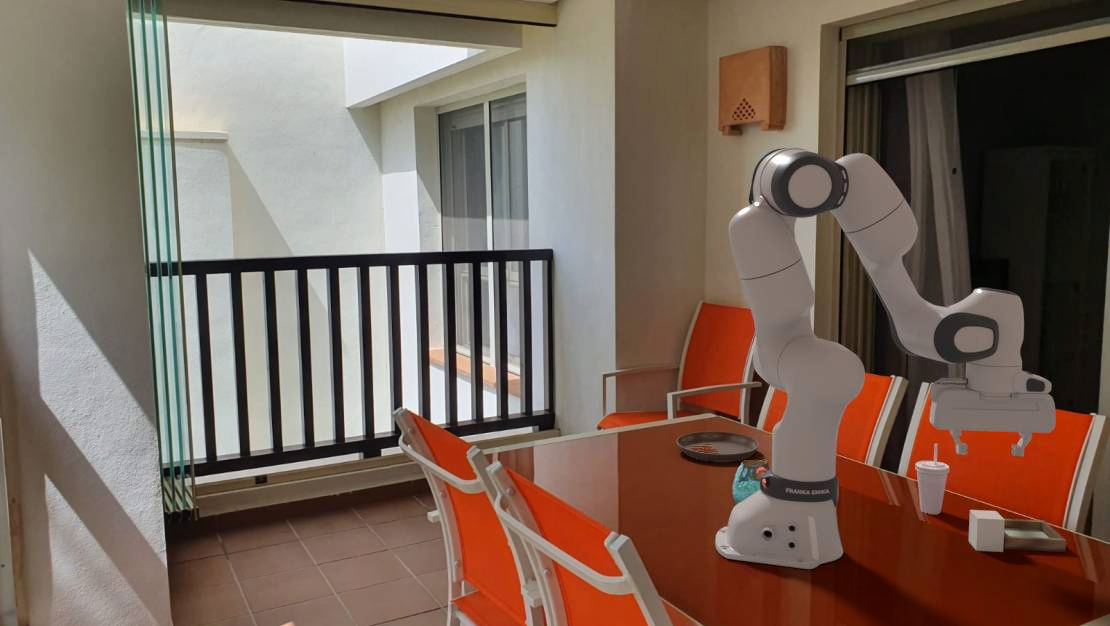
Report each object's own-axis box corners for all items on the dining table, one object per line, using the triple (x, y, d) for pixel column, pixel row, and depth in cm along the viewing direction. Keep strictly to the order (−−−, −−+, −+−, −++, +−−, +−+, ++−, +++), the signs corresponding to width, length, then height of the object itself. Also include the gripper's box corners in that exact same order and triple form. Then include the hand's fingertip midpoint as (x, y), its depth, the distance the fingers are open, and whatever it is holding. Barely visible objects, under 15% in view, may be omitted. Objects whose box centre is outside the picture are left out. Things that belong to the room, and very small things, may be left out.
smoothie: (951, 517, 170) (954, 449, 168) (917, 515, 171) (919, 447, 169) (943, 506, 176) (946, 440, 174) (910, 505, 177) (912, 439, 176)
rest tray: (1005, 549, 153) (1005, 537, 153) (987, 529, 163) (987, 518, 163) (1065, 552, 152) (1066, 540, 152) (1043, 531, 162) (1044, 520, 161)
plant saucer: (767, 465, 207) (767, 452, 207) (682, 466, 208) (682, 452, 207) (749, 443, 228) (749, 430, 228) (671, 443, 228) (671, 431, 228)
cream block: (976, 550, 153) (977, 518, 152) (968, 541, 158) (969, 509, 157) (1003, 552, 152) (1004, 519, 152) (994, 542, 157) (996, 511, 156)
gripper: (935, 380, 150) (932, 457, 152) (1061, 383, 147) (1057, 461, 148) (926, 374, 156) (923, 447, 158) (1047, 376, 153) (1043, 451, 155)
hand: (989, 454), depth 153 cm, fingers open, 8 cm apart
